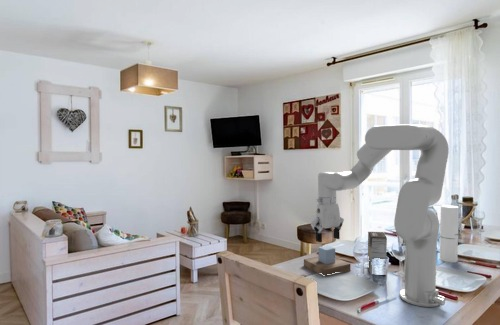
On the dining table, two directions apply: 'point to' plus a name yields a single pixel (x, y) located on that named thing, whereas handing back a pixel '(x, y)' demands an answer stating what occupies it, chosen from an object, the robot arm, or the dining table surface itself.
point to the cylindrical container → (449, 233)
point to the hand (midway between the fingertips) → (327, 240)
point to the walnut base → (326, 266)
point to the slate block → (326, 254)
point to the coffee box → (376, 247)
